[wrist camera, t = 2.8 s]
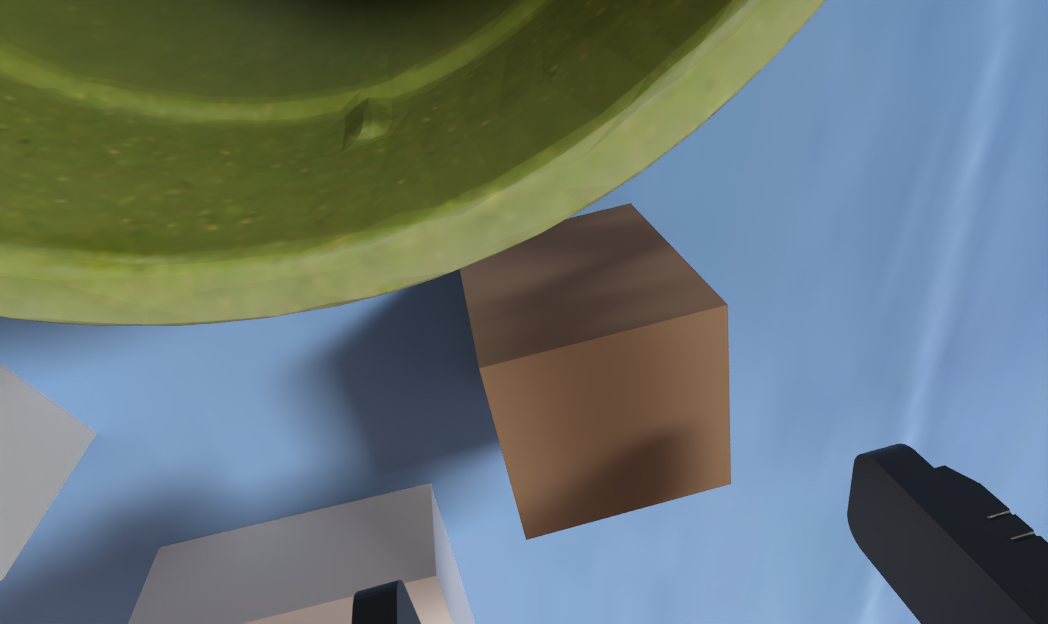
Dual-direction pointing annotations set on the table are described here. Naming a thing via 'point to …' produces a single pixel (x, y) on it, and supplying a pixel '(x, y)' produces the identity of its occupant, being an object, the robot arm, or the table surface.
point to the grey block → (32, 460)
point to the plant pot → (330, 139)
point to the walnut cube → (601, 369)
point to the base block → (310, 567)
